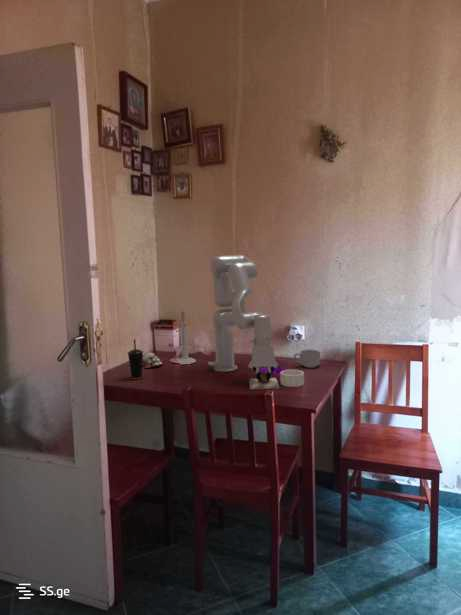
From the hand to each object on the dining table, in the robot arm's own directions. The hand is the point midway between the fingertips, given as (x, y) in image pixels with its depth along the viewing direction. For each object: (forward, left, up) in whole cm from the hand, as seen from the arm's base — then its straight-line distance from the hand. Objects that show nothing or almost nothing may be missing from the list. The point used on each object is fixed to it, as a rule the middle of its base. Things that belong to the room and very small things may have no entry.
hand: (263, 380), depth 212 cm
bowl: (+13, 0, -3) cm, 13 cm away
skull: (-60, +43, -3) cm, 73 cm away
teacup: (+24, +32, -3) cm, 40 cm away
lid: (0, 0, -2) cm, 2 cm away
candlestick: (-42, +48, -3) cm, 64 cm away
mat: (0, 0, -3) cm, 3 cm away
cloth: (+6, +20, -4) cm, 21 cm away
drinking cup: (-63, +19, -3) cm, 65 cm away
